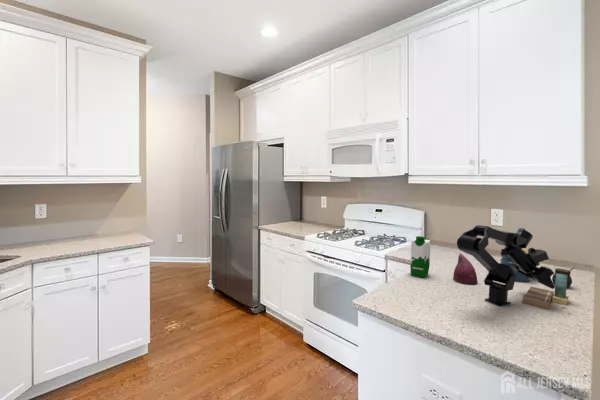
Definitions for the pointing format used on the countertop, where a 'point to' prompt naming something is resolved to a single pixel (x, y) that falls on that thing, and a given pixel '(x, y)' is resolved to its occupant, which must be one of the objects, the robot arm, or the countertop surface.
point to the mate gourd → (563, 271)
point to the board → (538, 297)
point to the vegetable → (464, 271)
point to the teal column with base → (560, 290)
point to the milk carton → (420, 257)
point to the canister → (519, 276)
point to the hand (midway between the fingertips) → (545, 284)
